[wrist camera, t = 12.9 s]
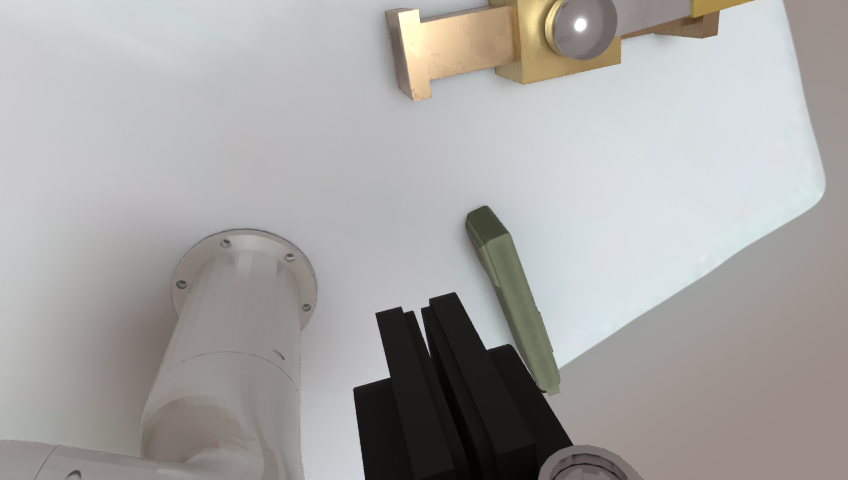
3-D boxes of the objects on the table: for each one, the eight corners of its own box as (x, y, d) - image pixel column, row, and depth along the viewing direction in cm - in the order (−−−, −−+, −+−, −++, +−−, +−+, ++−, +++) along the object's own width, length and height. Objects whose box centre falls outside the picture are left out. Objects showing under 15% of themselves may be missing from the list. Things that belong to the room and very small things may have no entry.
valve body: (668, 36, 46) (718, 41, 40) (400, 94, 43) (415, 108, 37) (673, -52, 43) (728, -59, 37) (383, 4, 40) (397, 5, 34)
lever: (548, 64, 38) (562, 67, 36) (541, 0, 36) (556, 0, 34) (741, 7, 39) (766, 8, 37) (745, -57, 37) (772, -60, 35)
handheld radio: (491, 201, 49) (553, 376, 61) (460, 214, 49) (528, 386, 61) (514, 229, 43) (578, 417, 55) (479, 245, 43) (550, 429, 55)
